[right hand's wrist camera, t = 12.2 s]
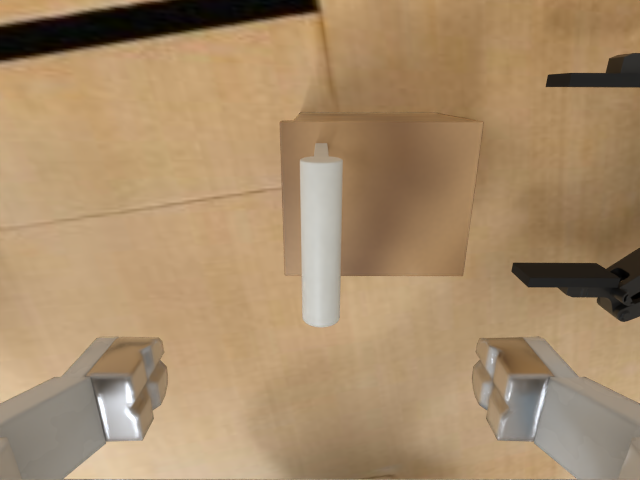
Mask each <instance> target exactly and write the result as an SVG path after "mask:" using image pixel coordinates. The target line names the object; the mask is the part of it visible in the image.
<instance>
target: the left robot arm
mask: <svg viewBox="0 0 640 480" xmlns="http://www.w3.org/2000/svg"><path fill="white" fill-rule="evenodd" d="M546 87H640V53H631V54H623V55H617V56H614V57H612V58H609V61H608V66H607V70H606V73H565V74H552V75H548V78H547V83H546ZM512 272H513V273H514V274H515V275H516V276H517V277H518V278H519V279H520V280H521V281H522V282H523V283H524V284H525V285H526V286H527V287H558V288H559V289H560V290H561V291H562V292H564V293H565V294H566V295H568V296H571V297H598V298H597V303H598V304H599V305H600V306H601V307H602V308H604V309H605V310H606V311H608V312H609V313H610V314H612V315H613V316H614V317H616V318H617V319H618V320H620V321H622V322H625V321H629V320H631V319H634V318H637V317H639V316H640V248H639V249H637V250H635V251H634V252H632V253H631V254H629V255H628V256H626V257H624V258H623V259H621V260H620V261H618V262H617V263H615V264H613V265H612V266H610V267H609V268H607V269H605V268H603V267H602V266H600V265H598V264H597V263H513V266H512ZM620 281H621V282H620Z"/></svg>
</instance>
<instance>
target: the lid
mask: <svg viewBox="0 0 640 480" xmlns="http://www.w3.org/2000/svg"><path fill="white" fill-rule="evenodd" d="M483 124H484V122H482V121H299V120H282V121H281V122H280V145H281V175H282V206H283V236H284V267H285V276H302V317H303V320H304V322H305V323H307V324H308V325H311V326H314V327H328V326H331V325H334V324H335V323H337V322H338V320H339V318H340V276H463V272H464V264H465V257H466V250H467V242H468V235H469V228H470V220H471V213H472V205H473V198H474V191H475V183H476V176H477V168H478V161H479V154H480V146H481V139H482V132H483Z"/></svg>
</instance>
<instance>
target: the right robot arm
mask: <svg viewBox="0 0 640 480" xmlns="http://www.w3.org/2000/svg"><path fill="white" fill-rule="evenodd" d="M476 353H477V355H478V357H479V359H480V360H479V361H478V363H477V364H476V365H475V366H474V367H473V374H472V383H473V390H474V394H475V397H476V399H477V401H478V403H479V405H480V406H482V407H483V408H485V409H486V410H487V417H486V419H487V421H488V423H489V425H490V427H491V429H492V431H493V433H494V435H495V437H496V438H497V440H502V441H534V443H535V444H536V445H537V446H538V447H539V448H541V449H542V450H543V451H544V452H545V453H547V454H548V455H549V456H550V457H551V458H553V459H554V460H555V461H556V462H557V463H559V464H560V465H561V466H562V467H563V468H565V469H566V470H567V471H568V472H569V473H571V474H572V475H573V476H574V477H575V478H577V479H63V478H65V477H66V476H67V475H68V474H69V473H71V472H72V471H73V470H74V469H76V468H77V467H78V466H79V465H80V464H82V463H83V462H84V461H85V460H86V459H88V458H89V457H90V456H91V455H92V454H94V453H95V452H96V451H97V450H98V449H100V448H101V447H102V446H103V445H104V444H106V441H137V440H143V439H144V437H145V435H146V433H147V431H148V429H149V427H150V425H151V423H152V421H153V419H154V417H153V410H154V409H155V408H157V407H158V406H160V405H161V403H162V401H163V399H164V397H165V394H166V389H167V385H168V373H167V367H166V366H165V365H164V364H163V363H162V361H161V360H160V359H161V357H162V355H163V354H164V348H163V343H162V340H161V339H159V338H149V337H100V338H96V339H95V341H94V342H93V343H92V344H91V345H90V346H89V347H88V348H87V349H86V350H85V351H84V353H83V354H82V355H81V356H80V357H79V358H78V359H77V360H76V361H75V362H74V363H73V365H72V366H71V367H70V368H69V369H68V370H67V371H66V372H65V373H64V374H63V375H62V377H54V378H52V379H50V380H48V381H46V382H44V383H41V384H39V385H37V386H35V387H33V388H31V389H29V390H27V391H25V392H23V393H21V394H19V395H17V396H15V397H13V398H11V399H9V400H7V401H5V402H3V403H1V404H0V480H640V404H639V403H637V402H635V401H633V400H631V399H629V398H627V397H625V396H623V395H621V394H619V393H617V392H615V391H613V390H611V389H609V388H607V387H605V386H603V385H601V384H598V383H596V382H594V381H592V380H590V379H588V378H586V377H578V375H577V374H576V373H575V372H574V371H573V370H572V369H571V368H570V367H569V366H568V365H567V363H566V362H565V361H564V360H563V359H562V358H561V357H560V356H559V355H558V354H557V353H556V351H555V350H554V349H553V348H552V347H551V346H550V345H549V344H548V343H547V342H546V340H545V339H543V338H541V337H519V338H480V339H479V341H478V343H477V347H476Z"/></svg>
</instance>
